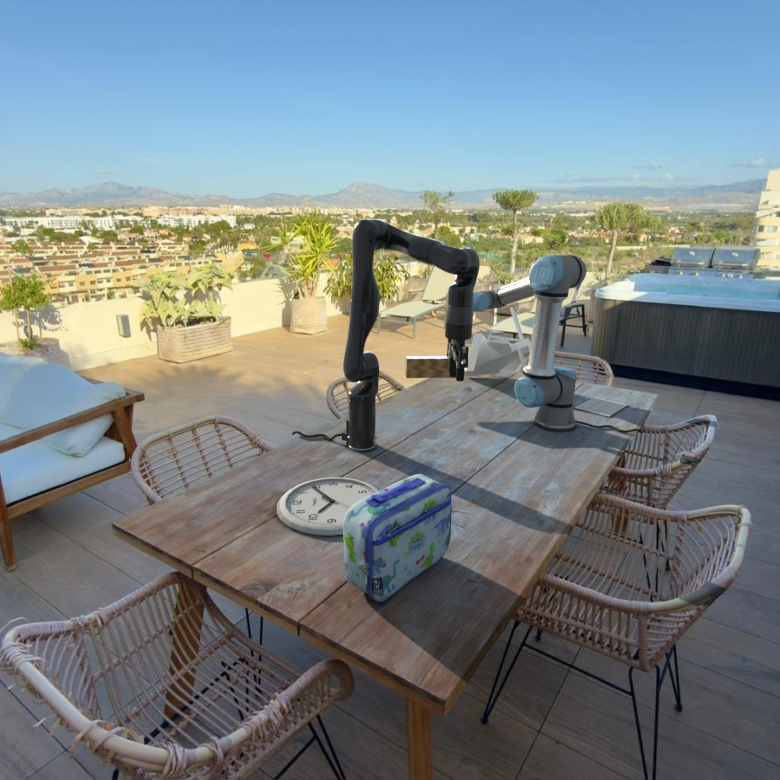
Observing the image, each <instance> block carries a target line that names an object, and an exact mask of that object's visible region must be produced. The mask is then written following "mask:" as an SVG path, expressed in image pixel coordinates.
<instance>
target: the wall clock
mask: <svg viewBox="0 0 780 780" xmlns="http://www.w3.org/2000/svg"><path fill="white" fill-rule="evenodd" d="M380 490H381V489H379V488H377V487H376V486H374V485H372V484H371V483H369V482H365V481H362V480H359V479H355V478H349V477H338V476H337V477H335V476H333V477H332V476H331V477H322V478H317V479H312V480H307V481H305V482H302V483H299V484H297V485H295V486H293V487H292V488H290V489H288V490H287V491H286V492H285V493H284V494H283V495H281V496H280V498H279V499H278V502H277V503H276V515H277V517H278V518H279V520H280V521H281V522H282V523H283V524H285V525H286V526H287V527H288V528H290V529H293V530H295V531H297V532H299V533H303V534H308V535H312V536H327V537H328V536H329V537H331V536H332V537H333V536H343V523H344V518H345V515H346V513H347V511H348V510H349V508H350V507H351V506H352V505H353V504H354V503H356V502H358V501H360V500H362V499H364V498H366V497H368V496H370V495H372V494H374V493H376V492H378V491H380Z"/></svg>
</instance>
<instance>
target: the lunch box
mask: <svg viewBox="0 0 780 780" xmlns="http://www.w3.org/2000/svg"><path fill="white" fill-rule="evenodd" d="M379 490H380V491H378V492H376V493H374V494H372V495H370V496H368V497H366V498H364V499H362V500H360V501H358V502H356V503H354V504H353V505H352V506H351V507H350V508H349V510H348V511H347V513H346V515H345V518H344V523H343V535H342V542H343V566H344V576H345V580H346V582H347V583H348V584H350V585H352V586H354V587H356V588H358V589H359V590H360V591H362V592H363V593H365V594H366V595H367V596H368V597H369V598H370V599H371V600H373V601H375V602H378V603H382V602H384V601H386V600H388V599H389V598H390V597H392V596H393V595H394V594H395V593H396V592H398V591H399V590H400V589H402V588H403V587H405V586H406V585H408V584H409V583H410V582H411V581H413V580H414V579H415V578H417V577H418V576H419V575H420V574H421V573H423V572H425V570H427V569H429V568H431V567H432V566H434V565H435V564H436V563H438V562H439V561H441V559H442V558H443V557H444V556H445V554H446V553H447V550H448V548H449V546H450V543H451V537H452V536H451V535H452V515H453V514H452V511H453V510H452V509H453V508H452V507H453V505H452V490H451V487H450V485H449V484H448V483H445V482H438V481H436V480H435V479H432V478H431V477H428V476H427V475H426V474H425V475H424V474H422V473H417V474H413V475H411V476H408V477H406V478H404V479H402V480H399V481H397V482H395V483H392V484H391V485H388V486H386V487H385V488H382V489H379Z"/></svg>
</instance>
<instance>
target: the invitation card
mask: <svg viewBox="0 0 780 780" xmlns="http://www.w3.org/2000/svg"><path fill="white" fill-rule="evenodd" d="M628 406H629V404H627V403H623V402H618V401H614V400H609V399H605V398H601V397H596V396H593V397H592V398H590V399H588V400H586V401H584V402H582V403H580V404H578V405H575V406H574V407H573V409H575V410H581V411H584V412H587V413H593V414H596V415H600V416H604V417H608V418H609V417H611V416H613V415H614V414H616V413H617V412H619V411H621V410H623V409H624V408H626V407H628Z"/></svg>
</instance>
